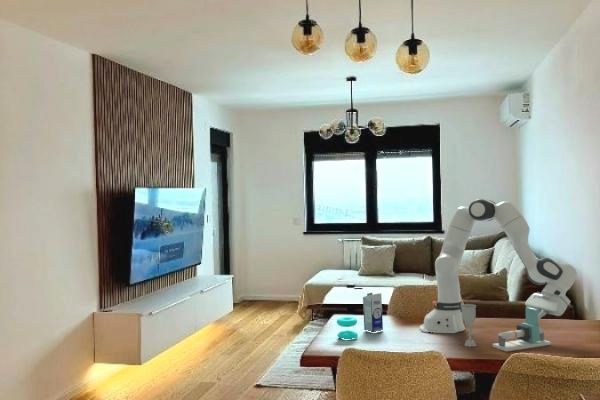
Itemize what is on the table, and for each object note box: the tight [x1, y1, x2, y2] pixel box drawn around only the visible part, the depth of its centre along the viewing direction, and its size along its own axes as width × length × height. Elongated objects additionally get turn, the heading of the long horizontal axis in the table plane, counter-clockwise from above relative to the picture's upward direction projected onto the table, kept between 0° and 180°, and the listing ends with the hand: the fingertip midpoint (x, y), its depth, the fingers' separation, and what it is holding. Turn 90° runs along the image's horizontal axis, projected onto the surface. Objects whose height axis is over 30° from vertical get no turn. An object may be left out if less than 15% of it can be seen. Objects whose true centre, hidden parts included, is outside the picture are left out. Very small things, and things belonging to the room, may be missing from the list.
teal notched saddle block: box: [520, 306, 540, 342], centre depth 248 cm, size 4×7×14 cm, turn 18°
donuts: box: [336, 316, 359, 339], centre depth 272 cm, size 10×10×10 cm
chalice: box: [461, 303, 477, 348], centre depth 251 cm, size 7×7×18 cm
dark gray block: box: [516, 324, 530, 342], centre depth 247 cm, size 2×6×6 cm, turn 19°
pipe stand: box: [492, 326, 552, 352], centre depth 246 cm, size 24×9×7 cm, turn 108°
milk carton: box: [362, 292, 384, 332], centre depth 284 cm, size 7×7×20 cm
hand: (535, 318), depth 249 cm, fingers closed
